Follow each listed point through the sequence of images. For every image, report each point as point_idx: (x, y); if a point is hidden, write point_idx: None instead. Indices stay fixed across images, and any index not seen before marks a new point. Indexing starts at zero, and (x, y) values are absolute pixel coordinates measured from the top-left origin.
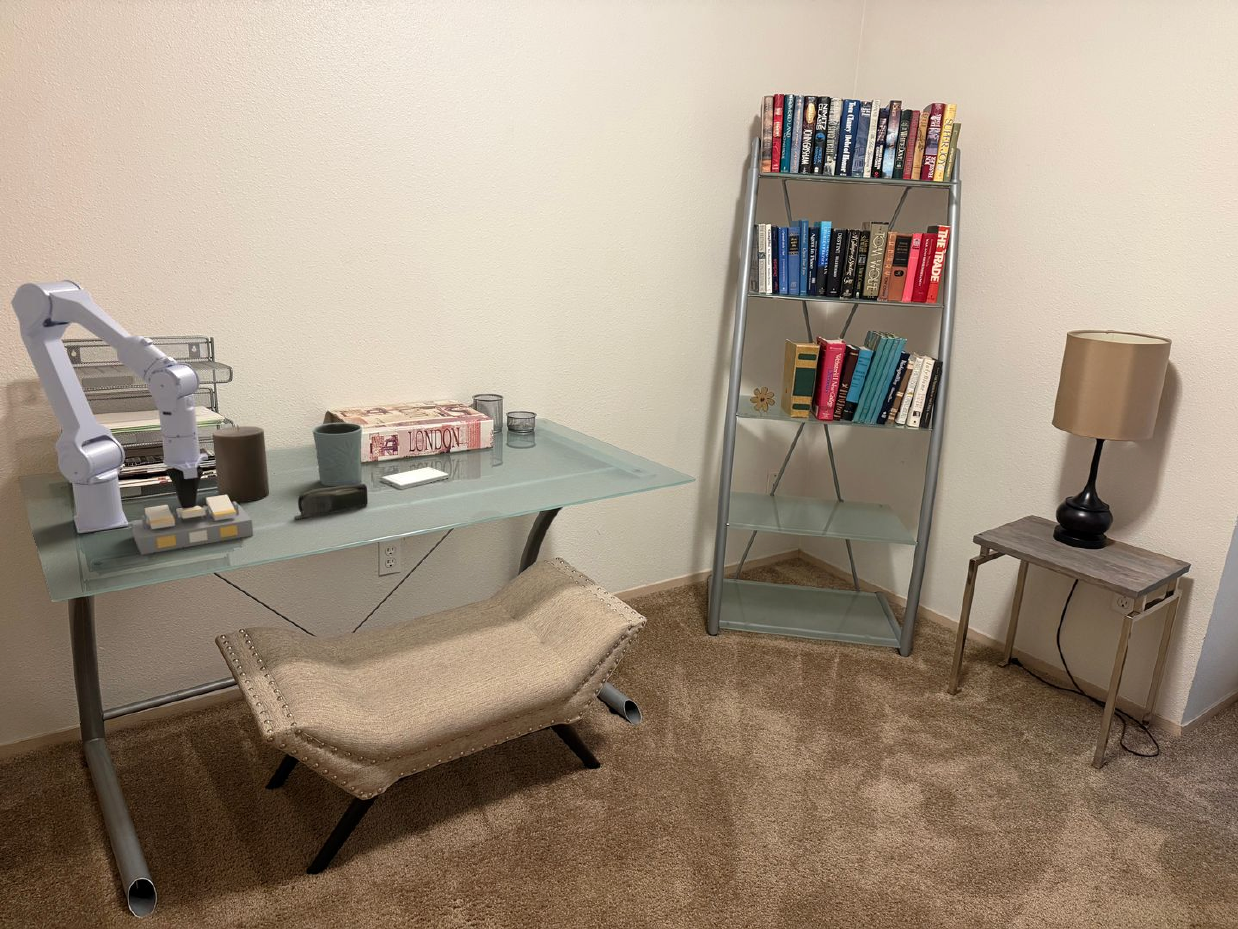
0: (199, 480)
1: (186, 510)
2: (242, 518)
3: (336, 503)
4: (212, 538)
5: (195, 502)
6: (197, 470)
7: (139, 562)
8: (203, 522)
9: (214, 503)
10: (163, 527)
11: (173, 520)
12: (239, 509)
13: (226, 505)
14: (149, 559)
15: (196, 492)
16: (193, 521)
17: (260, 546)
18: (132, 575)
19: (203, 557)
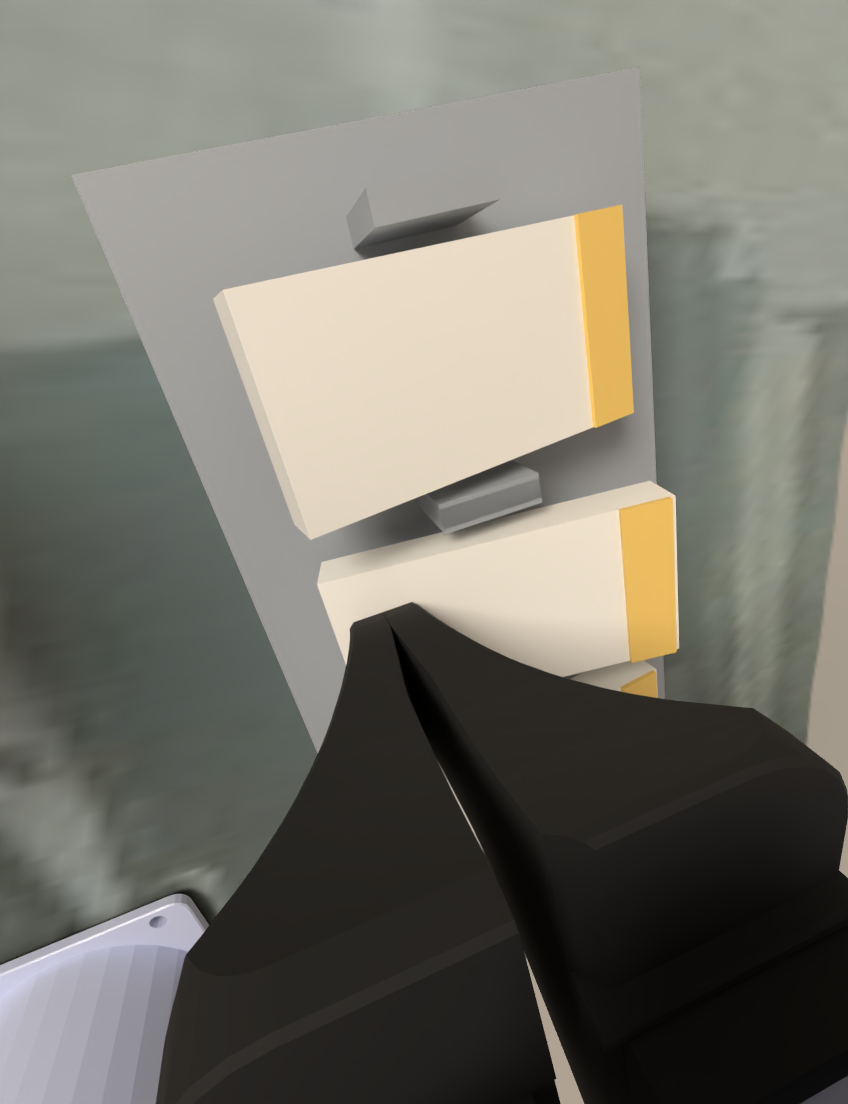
0: (640, 696)
1: (562, 639)
2: (572, 163)
3: None
4: None
5: (427, 612)
6: (699, 874)
7: (689, 689)
8: (552, 491)
9: (443, 433)
10: None
11: (655, 674)
12: (273, 179)
13: (492, 303)
14: (675, 663)
15: (486, 648)
16: None
17: (771, 92)
18: (797, 674)
19: (764, 441)
